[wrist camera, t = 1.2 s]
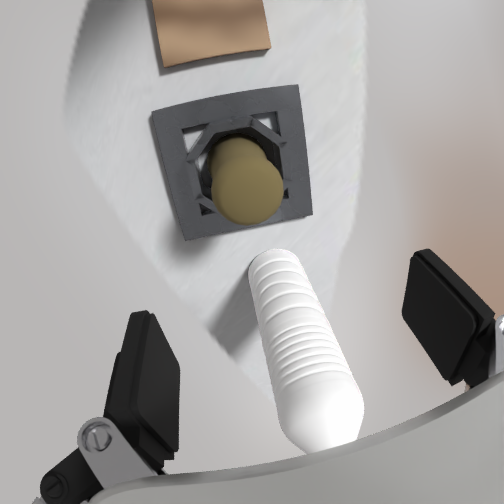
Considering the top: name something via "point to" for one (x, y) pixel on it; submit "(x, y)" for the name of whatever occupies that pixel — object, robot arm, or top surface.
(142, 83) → the top surface
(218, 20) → the coaster board
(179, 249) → the top surface
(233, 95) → the grey octagonal holder
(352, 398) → the water bottle
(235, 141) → the cork
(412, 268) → the robot arm
